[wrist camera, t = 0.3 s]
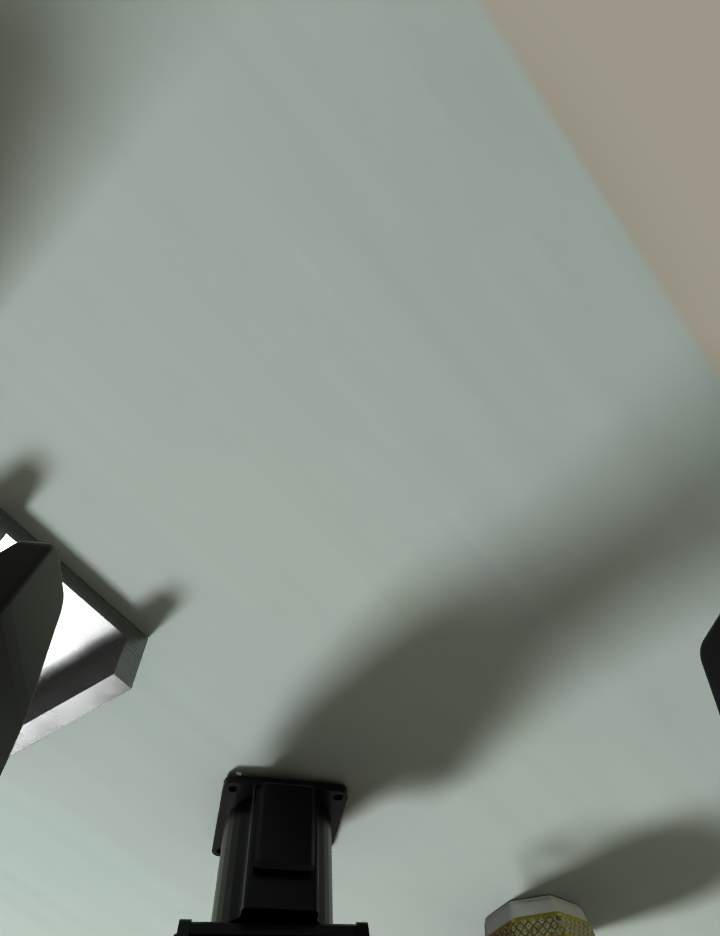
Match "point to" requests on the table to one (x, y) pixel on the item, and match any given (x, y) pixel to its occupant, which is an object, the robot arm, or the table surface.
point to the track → (77, 654)
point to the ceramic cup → (538, 919)
